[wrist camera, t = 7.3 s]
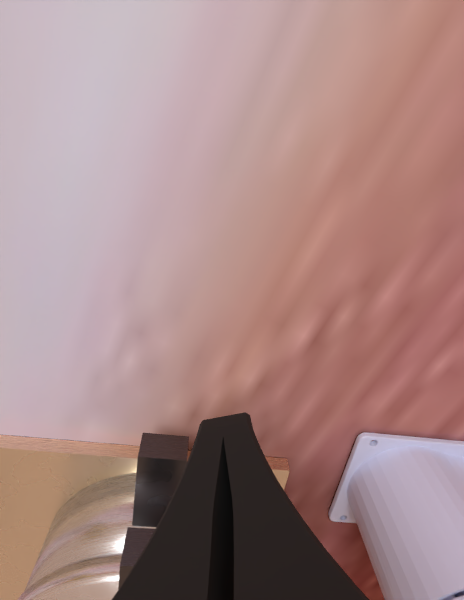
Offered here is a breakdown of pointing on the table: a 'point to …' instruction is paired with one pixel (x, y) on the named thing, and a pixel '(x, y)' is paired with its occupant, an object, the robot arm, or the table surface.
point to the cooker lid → (92, 574)
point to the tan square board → (82, 500)
